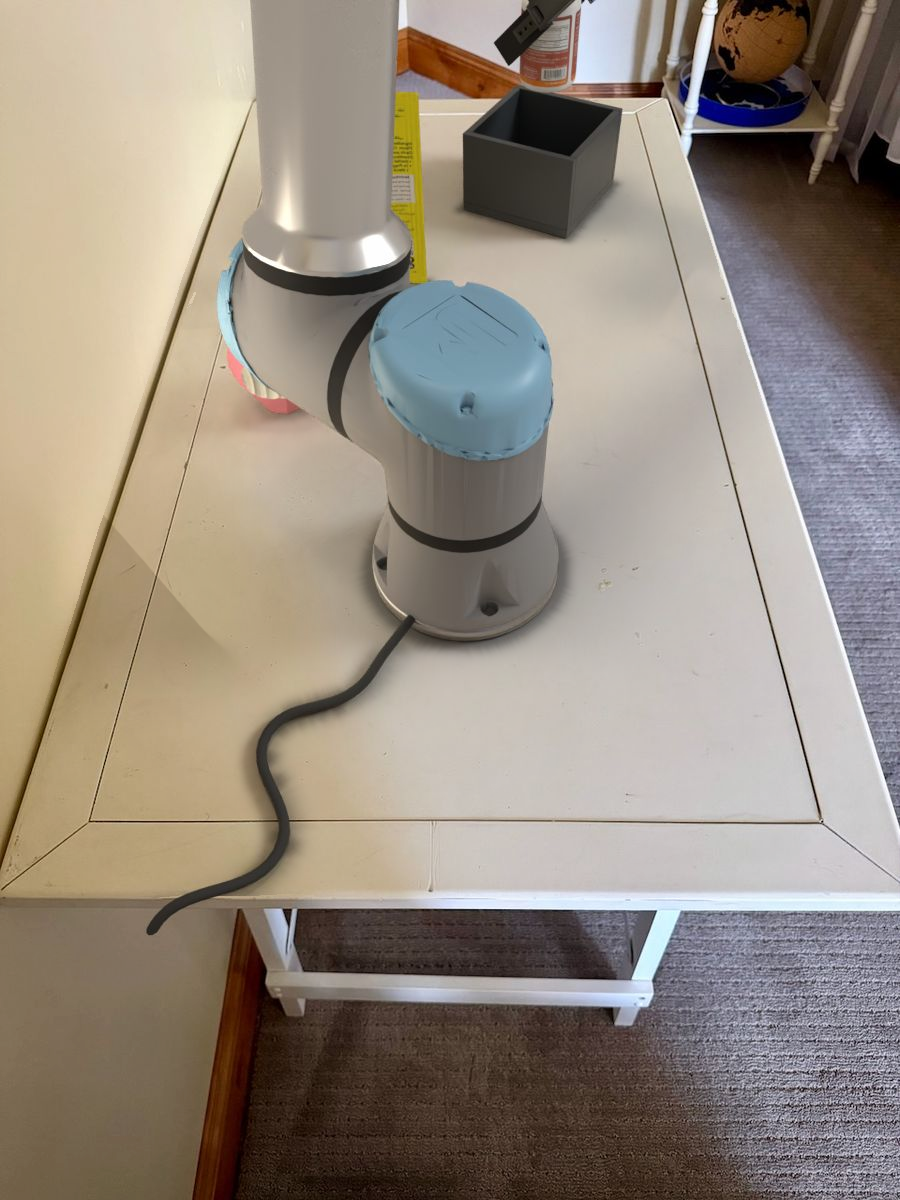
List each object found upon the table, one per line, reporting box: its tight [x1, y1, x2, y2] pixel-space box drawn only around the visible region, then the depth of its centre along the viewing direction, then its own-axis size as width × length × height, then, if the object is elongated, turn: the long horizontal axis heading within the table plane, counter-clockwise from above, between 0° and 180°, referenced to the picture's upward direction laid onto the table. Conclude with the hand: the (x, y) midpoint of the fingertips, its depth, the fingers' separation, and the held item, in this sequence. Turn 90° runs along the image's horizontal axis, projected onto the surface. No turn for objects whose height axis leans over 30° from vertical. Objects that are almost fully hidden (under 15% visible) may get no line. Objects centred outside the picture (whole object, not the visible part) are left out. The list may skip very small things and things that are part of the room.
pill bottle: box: [519, 0, 582, 93], centre depth 94 cm, size 6×6×11 cm
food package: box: [391, 91, 428, 285], centre depth 91 cm, size 15×1×20 cm, turn 84°
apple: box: [226, 347, 301, 415], centre depth 83 cm, size 10×9×10 cm
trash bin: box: [462, 84, 624, 239], centre depth 106 cm, size 14×14×9 cm
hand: (519, 41), depth 97 cm, fingers closed on pill bottle, 6 cm apart
